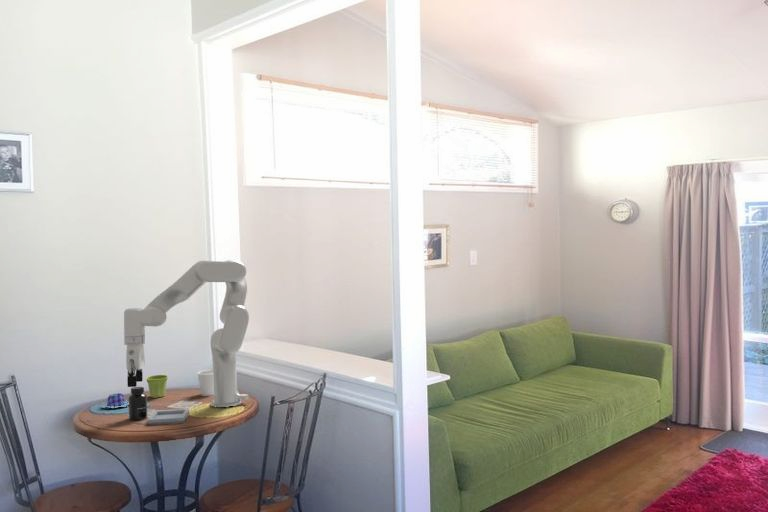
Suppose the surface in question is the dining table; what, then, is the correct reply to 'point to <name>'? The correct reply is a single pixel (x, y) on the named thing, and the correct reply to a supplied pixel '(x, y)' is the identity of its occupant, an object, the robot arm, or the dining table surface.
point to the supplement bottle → (137, 404)
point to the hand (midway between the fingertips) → (135, 384)
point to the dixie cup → (206, 382)
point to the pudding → (116, 400)
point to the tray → (168, 417)
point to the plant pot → (157, 385)
